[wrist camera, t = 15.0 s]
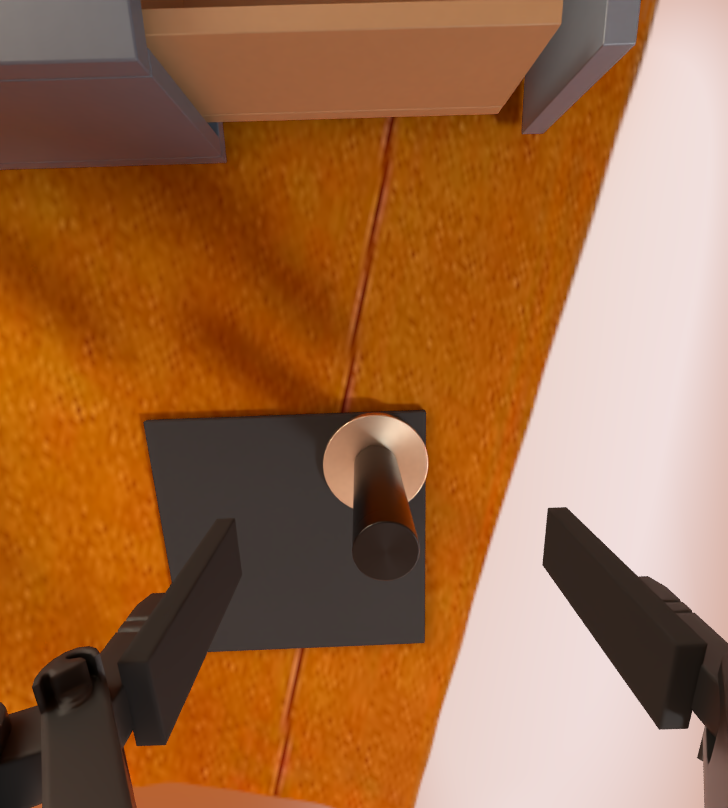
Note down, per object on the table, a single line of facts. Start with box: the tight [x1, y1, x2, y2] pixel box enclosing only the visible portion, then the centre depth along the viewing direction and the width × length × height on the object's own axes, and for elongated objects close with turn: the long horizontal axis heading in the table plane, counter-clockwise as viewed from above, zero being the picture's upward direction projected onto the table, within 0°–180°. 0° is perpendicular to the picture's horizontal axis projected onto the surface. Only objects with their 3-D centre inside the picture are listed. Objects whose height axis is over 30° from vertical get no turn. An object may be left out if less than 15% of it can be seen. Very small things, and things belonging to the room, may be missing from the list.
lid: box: [323, 413, 428, 581], centre depth 20 cm, size 7×7×10 cm
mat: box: [144, 410, 426, 652], centre depth 26 cm, size 18×18×1 cm
